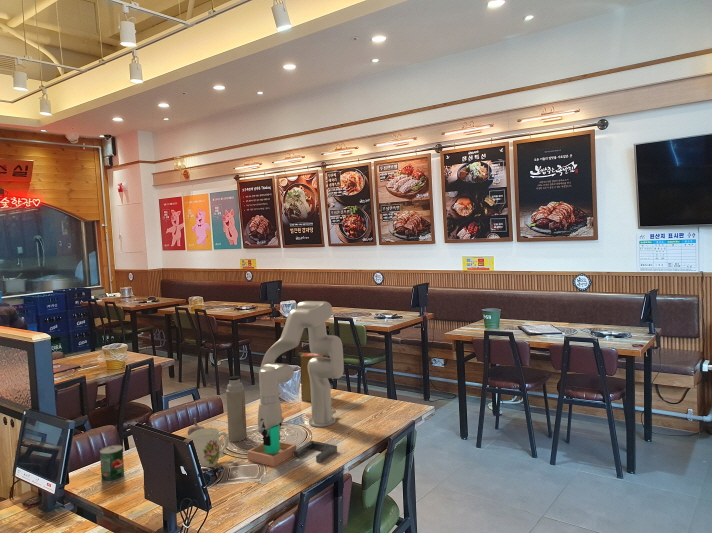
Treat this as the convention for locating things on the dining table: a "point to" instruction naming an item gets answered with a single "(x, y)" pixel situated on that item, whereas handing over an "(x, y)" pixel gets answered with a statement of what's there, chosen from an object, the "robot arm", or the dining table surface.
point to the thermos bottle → (236, 409)
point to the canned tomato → (112, 463)
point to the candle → (273, 440)
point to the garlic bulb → (194, 427)
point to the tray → (271, 454)
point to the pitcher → (208, 445)
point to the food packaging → (306, 375)
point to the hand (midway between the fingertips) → (271, 442)
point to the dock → (326, 448)
